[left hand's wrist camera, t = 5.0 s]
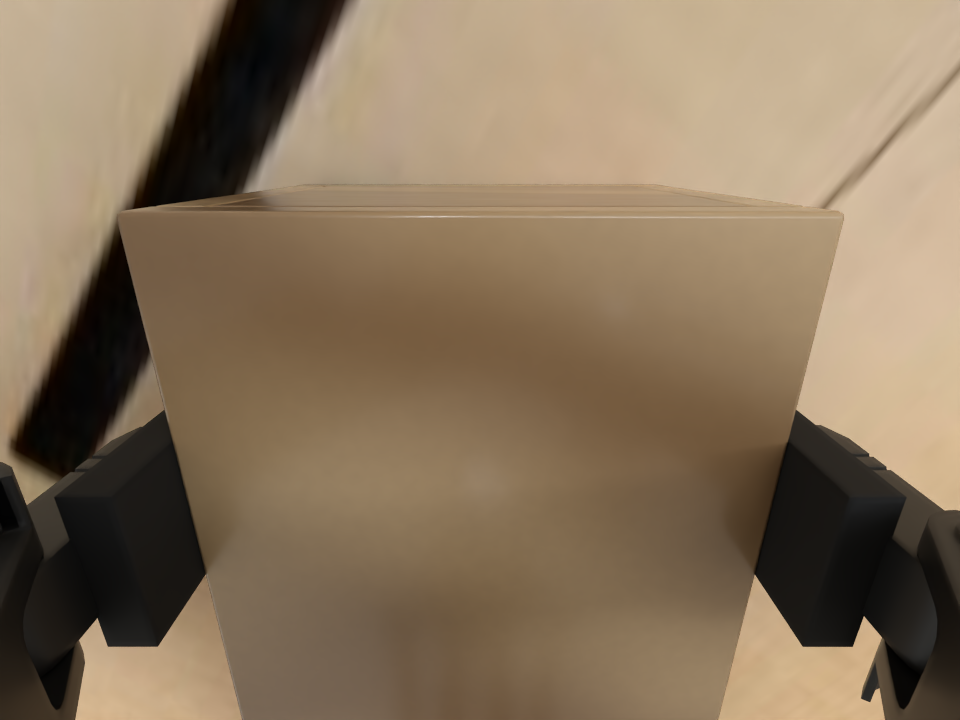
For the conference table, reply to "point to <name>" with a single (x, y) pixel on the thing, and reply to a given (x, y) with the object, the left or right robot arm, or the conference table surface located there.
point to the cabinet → (480, 436)
